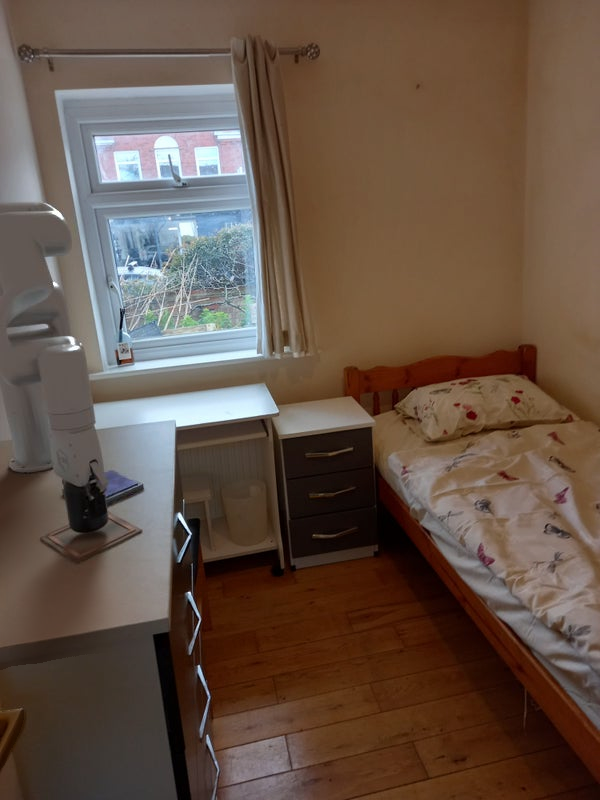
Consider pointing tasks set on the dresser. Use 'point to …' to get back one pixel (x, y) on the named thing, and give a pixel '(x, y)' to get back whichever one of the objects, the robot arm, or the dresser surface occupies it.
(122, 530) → the marked board
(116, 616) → the dresser surface
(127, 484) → the ink pad
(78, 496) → the supplement bottle
